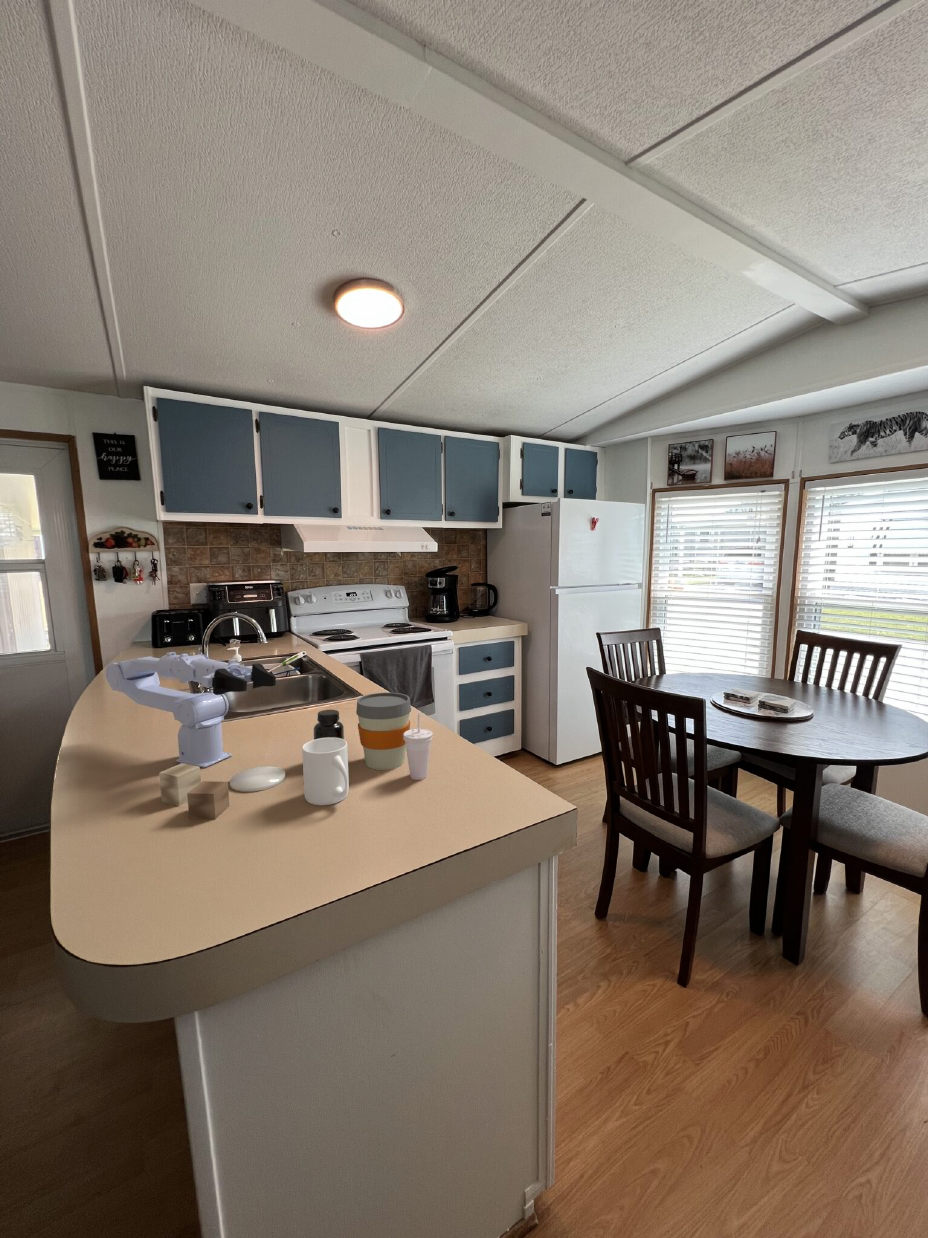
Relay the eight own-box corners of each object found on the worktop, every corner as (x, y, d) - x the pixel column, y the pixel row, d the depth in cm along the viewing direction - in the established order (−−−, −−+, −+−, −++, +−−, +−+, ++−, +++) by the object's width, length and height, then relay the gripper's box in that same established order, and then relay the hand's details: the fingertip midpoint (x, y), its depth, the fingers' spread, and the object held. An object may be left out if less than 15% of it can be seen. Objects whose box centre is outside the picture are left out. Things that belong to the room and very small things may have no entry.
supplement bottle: (336, 769, 115) (334, 717, 114) (309, 766, 117) (306, 716, 115) (349, 757, 122) (347, 708, 121) (323, 755, 124) (321, 707, 122)
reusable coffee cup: (401, 748, 128) (400, 689, 126) (420, 766, 117) (419, 702, 115) (351, 757, 122) (349, 696, 120) (366, 777, 111) (364, 710, 109)
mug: (326, 818, 94) (324, 762, 93) (296, 796, 102) (294, 744, 101) (366, 802, 100) (365, 749, 98) (335, 783, 108) (333, 734, 107)
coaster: (218, 786, 107) (217, 783, 107) (258, 766, 117) (258, 763, 117) (258, 796, 103) (258, 792, 103) (296, 774, 113) (296, 771, 113)
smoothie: (438, 773, 113) (437, 711, 111) (424, 784, 107) (423, 720, 105) (413, 768, 116) (412, 708, 114) (398, 779, 110) (396, 716, 108)
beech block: (161, 801, 101) (159, 772, 100) (184, 791, 105) (182, 763, 105) (179, 806, 99) (177, 776, 98) (201, 795, 103) (199, 766, 103)
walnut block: (189, 819, 94) (187, 793, 93) (204, 806, 99) (202, 781, 98) (215, 819, 94) (213, 793, 93) (229, 806, 99) (227, 781, 98)
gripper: (189, 659, 109) (232, 669, 103) (245, 653, 122) (287, 661, 116) (187, 692, 110) (230, 703, 104) (244, 682, 123) (285, 692, 116)
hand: (260, 683), depth 110 cm, fingers open, 7 cm apart
